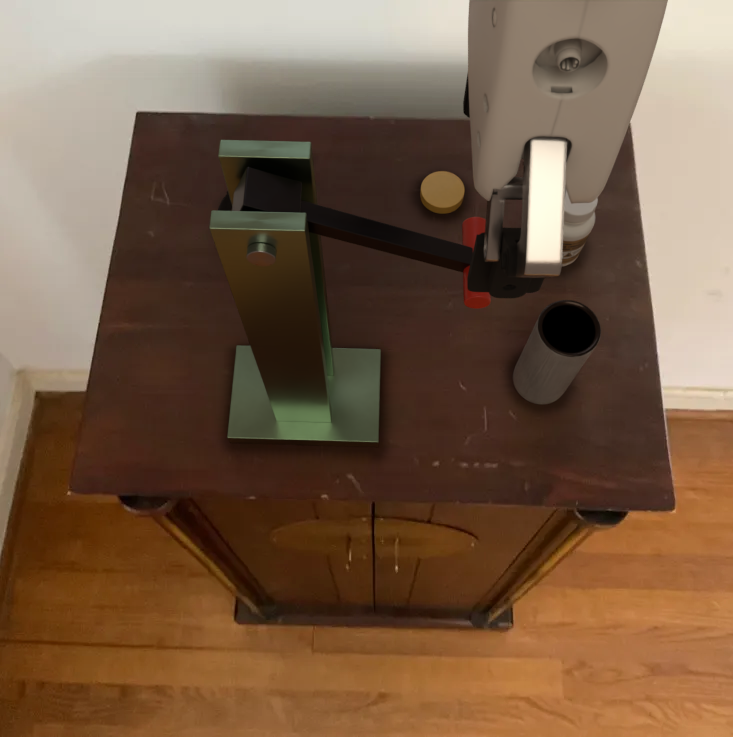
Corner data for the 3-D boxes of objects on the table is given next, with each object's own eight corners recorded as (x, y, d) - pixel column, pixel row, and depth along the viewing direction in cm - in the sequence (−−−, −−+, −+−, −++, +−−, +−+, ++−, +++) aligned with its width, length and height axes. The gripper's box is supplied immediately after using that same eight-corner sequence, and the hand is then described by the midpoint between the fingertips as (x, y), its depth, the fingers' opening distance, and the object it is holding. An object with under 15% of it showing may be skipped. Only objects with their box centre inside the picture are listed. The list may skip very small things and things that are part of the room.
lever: (474, 236, 44) (497, 215, 42) (476, 314, 42) (501, 297, 40) (236, 168, 39) (249, 141, 37) (226, 254, 37) (240, 230, 35)
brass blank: (447, 170, 72) (448, 164, 71) (471, 201, 71) (473, 194, 70) (411, 189, 71) (412, 183, 70) (436, 221, 70) (437, 214, 69)
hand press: (380, 356, 65) (391, 118, 37) (378, 447, 62) (388, 261, 34) (239, 352, 65) (145, 112, 38) (230, 443, 62) (120, 255, 35)
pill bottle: (540, 273, 68) (561, 225, 61) (523, 232, 70) (541, 181, 62) (587, 262, 68) (613, 213, 61) (569, 221, 70) (592, 169, 63)
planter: (571, 362, 65) (606, 308, 55) (560, 411, 63) (595, 364, 54) (518, 348, 65) (544, 292, 56) (506, 396, 64) (531, 347, 54)
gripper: (790, 78, 17) (592, 366, 33) (690, -364, 24) (565, 55, 40) (454, 74, 17) (418, 363, 33) (446, -363, 24) (419, 53, 40)
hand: (498, 195), depth 36 cm, fingers open, 9 cm apart
